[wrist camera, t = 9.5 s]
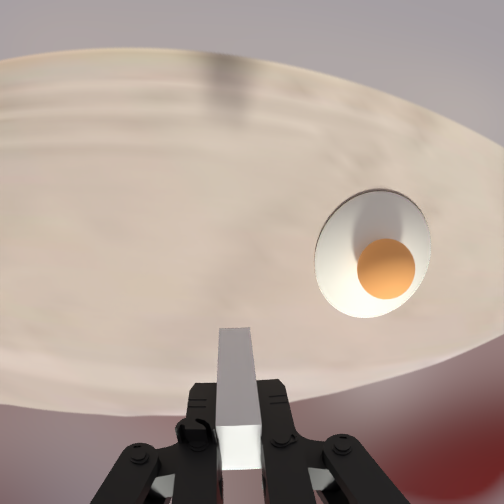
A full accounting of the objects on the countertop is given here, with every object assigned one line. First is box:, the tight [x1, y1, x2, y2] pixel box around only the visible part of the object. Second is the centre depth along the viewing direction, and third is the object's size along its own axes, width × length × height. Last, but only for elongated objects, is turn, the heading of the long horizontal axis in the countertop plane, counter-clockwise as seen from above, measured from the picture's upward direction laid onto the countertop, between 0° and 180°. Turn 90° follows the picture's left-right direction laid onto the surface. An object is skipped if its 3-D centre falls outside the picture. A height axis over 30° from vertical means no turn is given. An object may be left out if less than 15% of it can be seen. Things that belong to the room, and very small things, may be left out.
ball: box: [357, 239, 415, 299], centre depth 27 cm, size 6×6×6 cm
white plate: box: [314, 191, 431, 318], centre depth 30 cm, size 13×13×1 cm
